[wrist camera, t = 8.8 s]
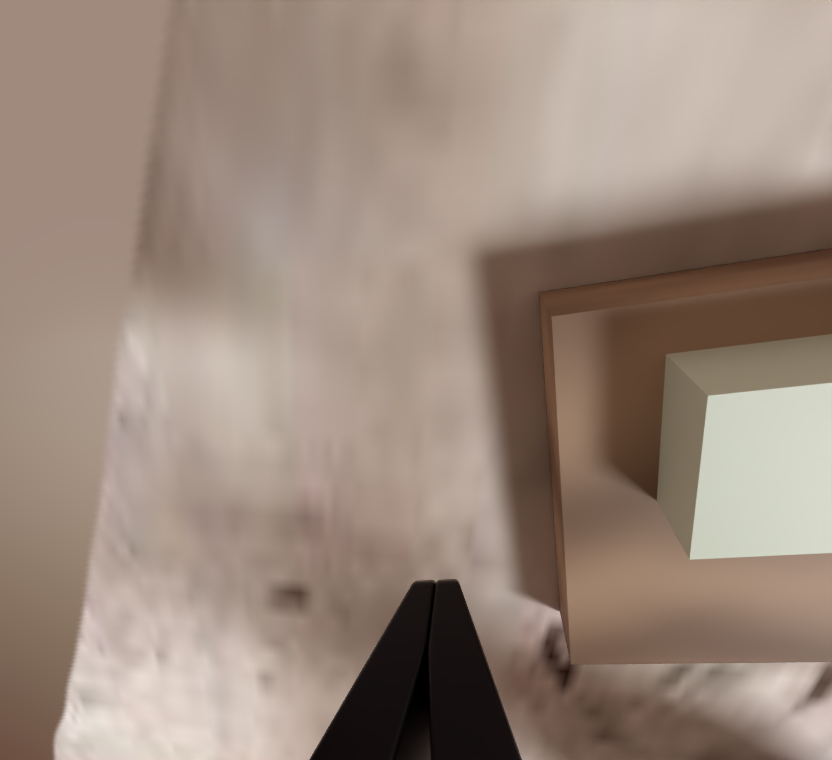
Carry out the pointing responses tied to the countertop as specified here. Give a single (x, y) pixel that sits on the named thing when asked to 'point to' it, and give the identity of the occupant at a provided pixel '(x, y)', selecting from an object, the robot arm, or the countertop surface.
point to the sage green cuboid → (749, 449)
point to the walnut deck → (639, 466)
